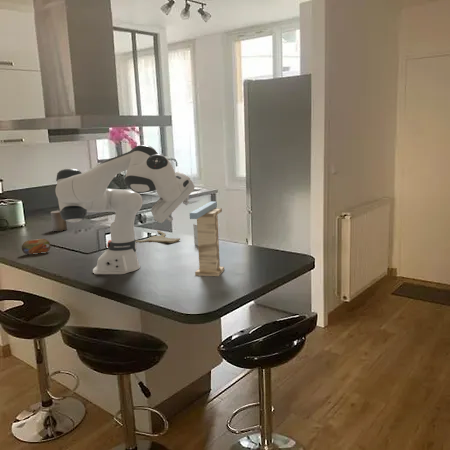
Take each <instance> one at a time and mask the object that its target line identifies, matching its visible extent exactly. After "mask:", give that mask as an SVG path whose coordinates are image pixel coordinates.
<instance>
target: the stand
mask: <svg viewBox="0 0 450 450" xmlns="http://www.w3.org/2000/svg"><path fill="white" fill-rule="evenodd" d="M222 212H223V209H222V208H221V207H220V208H218V207H216V208H214V209H213V210H211V211H209V212H208V213H206V214H204V215H203V216H201V217H199V218H198V219H196V223H197V232H198V246H197V248H198V250H197V251H198V265H199V267H198V269H197V270H195V272H194V275H195V276H200V277H201V276H202V277H203V276H204V277H205V276H206V277H220V275H221V274H222V273H223V272H224V271H225V266H221V265H220V264H221V263H220V262H221V261H220V244H219V243H220V241H219V239H220V238H219V219H218V215H219V214H220V213H222Z"/></svg>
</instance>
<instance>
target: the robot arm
mask: <svg viewBox="0 0 450 450" xmlns="http://www.w3.org/2000/svg"><path fill="white" fill-rule="evenodd" d="M125 171H126V174H125V176H124V177H125V178H124V184H125V185H126V187H128V189H120V188H109V185H110V183H111V182H112V181H113V180H114V178H115V177H116V176H117V175H118V174H120V173H122V172H125ZM55 180H56V186H55V189H54V190H55V195H56V196H55V197H56V198H57V203H58V208H59V210H60V215H61V218H62V219H63V220H64V221H66V222H69V223H78V222H80V221H83V220H84V219H86V217H87V213H105V212H108V213H110V212H111V213H115V217H114V221H113V222H111V223H110V226H109V230H110V232H109V233H110V240H108V241H107V245H106V247H107V250H105V251H104V252H103V253H102V254H101V255H100V256H99V257H98V259H97V261H96V263H97V264H96V266H95V267H94V268H92V273H94V274H93V275H126V274H128V273H130V272H135V271H138V270H139V269H140V268H141V265H140V262H139V260H138V253H137V243H136V241H137V240H136V239H135V220H136V215H137V214H138V212H140V210H141V209H142V207H143V197H142V195H141V194H145V193H149V192H154V191H156V193H157V195H158V197H159V199H158V200H156V202H155V203H154V204H153V205H152V207H151V210H150V211H151V214H152V217H153V219H154V220H155V221H156V222H157V223H159V224H162V223H164V222H165V221H166V220H167V221H169V222H170V223H171V222H172V221H173V220H174V218H173V216H171V215H172V214H173V212H174V211H175V210H177V208H178V207H179V206H181V204H182V203H183V205H185V206H187V205H188V204H189V203H190V201H189V200H190V199H189V198H190V195H191V193H193V192H194V190H195V184H194V183H193V181H192V180H191V178H190V176H188V175H186V174H184V173H183V172H180V171H176V172H175V170H174V167H173V165H172V163H171V162H170V160H169V159H168V158H167V157H166V156H165V155H163V154H159V153H158V152H157V150H156V149H155V148H153V147H152V146H150V145H147V144H140V145H136V146H135V147H133V148H132V149H131V150H129V151H126V152H125V153H122V154H120V155H116V156H114V157H111V158H109V159H106V160H104V161H101V162H100V163H99V164H97V165H95V166H94V167H93V168H91V169H89V170H86V171H85V172H82V171H80V170H79V169H76V168H71V167H69V168H67V167H66V168H63V169H61V170H59V171H58V172H57V173H56V178H55Z"/></svg>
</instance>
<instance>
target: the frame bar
mask: <svg viewBox="0 0 450 450" xmlns="http://www.w3.org/2000/svg"><path fill="white" fill-rule="evenodd" d="M214 208H218V203H217V201H209V202H207V203H205V204H204V205H202V206H199V207H198V208H196V209H194V210H192V211H190V212H189V219H190V220H197V219H198V218H199V217H201V216H203V215H204V214H206V213H208V212H209V211H211V210H213V209H214Z"/></svg>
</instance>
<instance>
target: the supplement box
mask: <svg viewBox="0 0 450 450" xmlns="http://www.w3.org/2000/svg"><path fill="white" fill-rule="evenodd" d="M193 240H194V241H193V243H194V246H197V247H198V232H197V222H196V223H193Z"/></svg>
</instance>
